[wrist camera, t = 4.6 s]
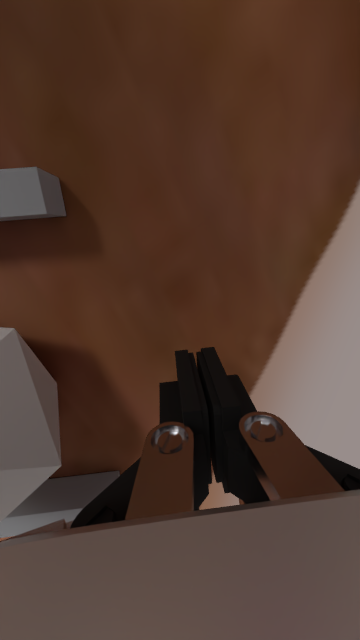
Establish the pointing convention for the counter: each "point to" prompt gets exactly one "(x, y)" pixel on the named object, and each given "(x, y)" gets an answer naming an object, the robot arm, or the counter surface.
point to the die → (25, 422)
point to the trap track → (59, 493)
